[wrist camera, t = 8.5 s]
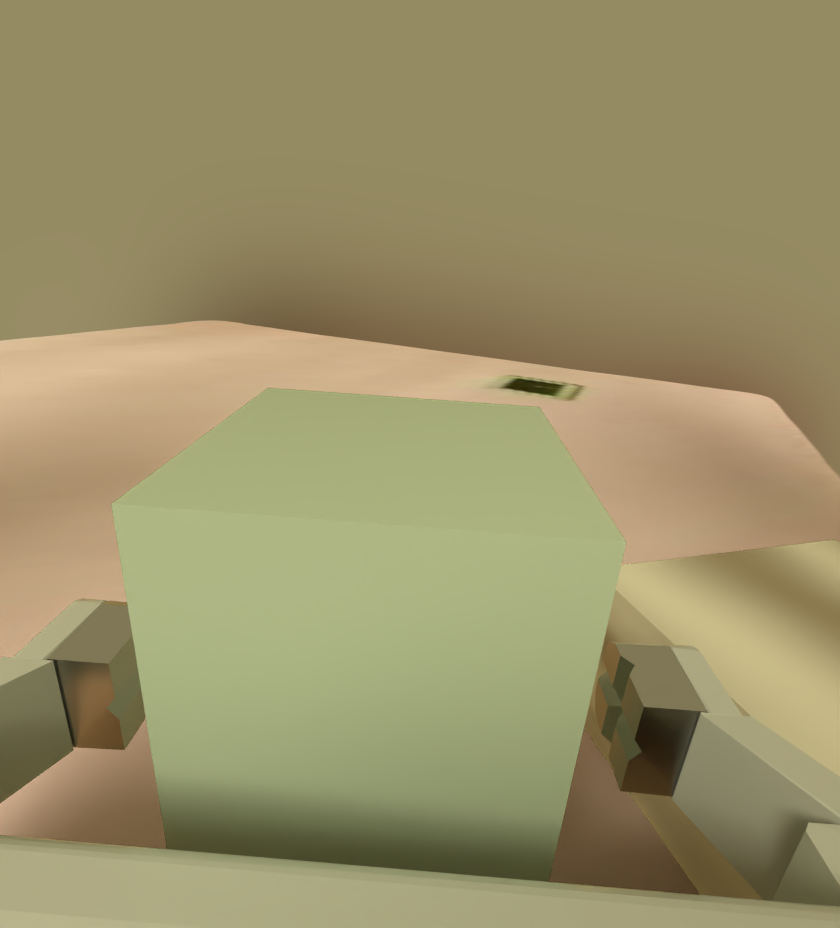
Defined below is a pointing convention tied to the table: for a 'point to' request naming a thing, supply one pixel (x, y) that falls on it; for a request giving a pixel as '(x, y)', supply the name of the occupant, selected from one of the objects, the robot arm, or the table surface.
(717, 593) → the base block
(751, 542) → the table surface
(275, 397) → the green block
